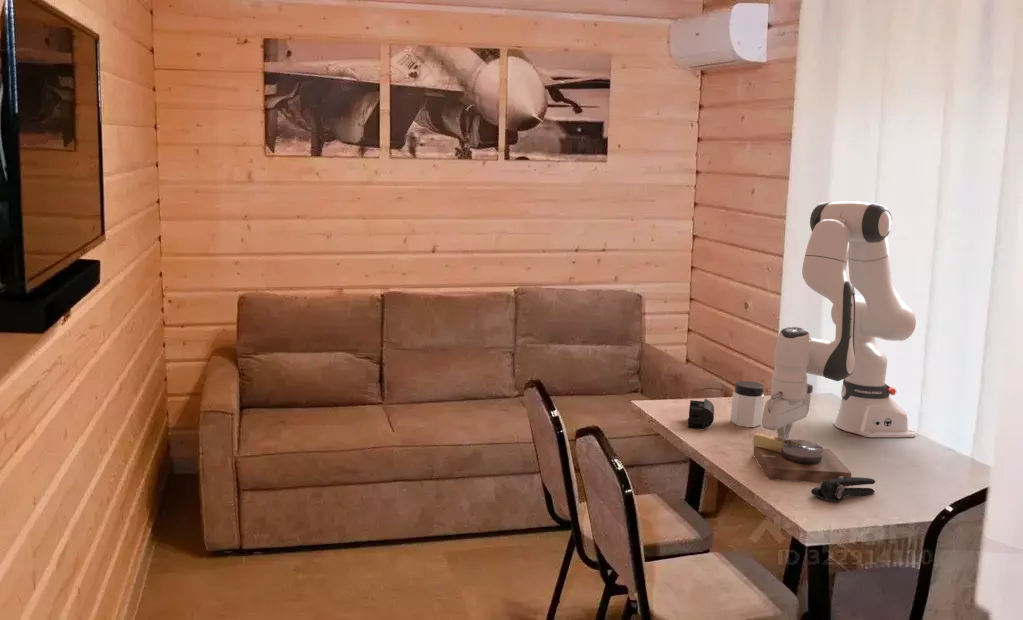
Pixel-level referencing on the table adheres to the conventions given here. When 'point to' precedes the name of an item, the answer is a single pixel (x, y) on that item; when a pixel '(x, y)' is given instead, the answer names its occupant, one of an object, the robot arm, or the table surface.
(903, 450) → the table surface
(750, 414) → the jar
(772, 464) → the base
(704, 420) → the end cap
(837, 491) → the can opener
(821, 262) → the robot arm
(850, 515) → the table surface
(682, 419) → the table surface
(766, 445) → the small frying pan
